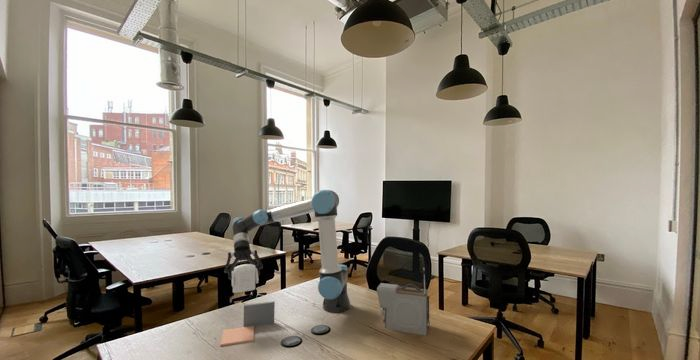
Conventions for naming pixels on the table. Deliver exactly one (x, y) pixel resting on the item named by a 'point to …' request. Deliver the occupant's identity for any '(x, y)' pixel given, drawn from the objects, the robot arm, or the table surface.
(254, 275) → the photo printer
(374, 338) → the table surface
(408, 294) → the portable television
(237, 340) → the display pad
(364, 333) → the table surface
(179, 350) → the table surface
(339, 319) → the table surface
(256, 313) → the screen
